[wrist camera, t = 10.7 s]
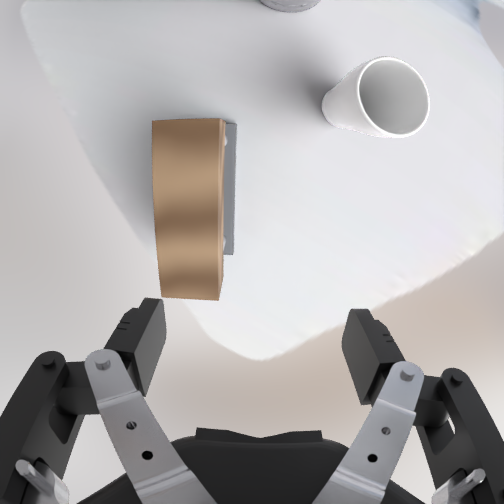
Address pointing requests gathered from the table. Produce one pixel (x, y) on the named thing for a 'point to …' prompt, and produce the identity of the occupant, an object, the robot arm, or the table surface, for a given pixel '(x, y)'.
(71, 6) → the table surface
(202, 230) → the brown rectangular block
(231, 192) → the peg stand
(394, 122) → the drinking glass
